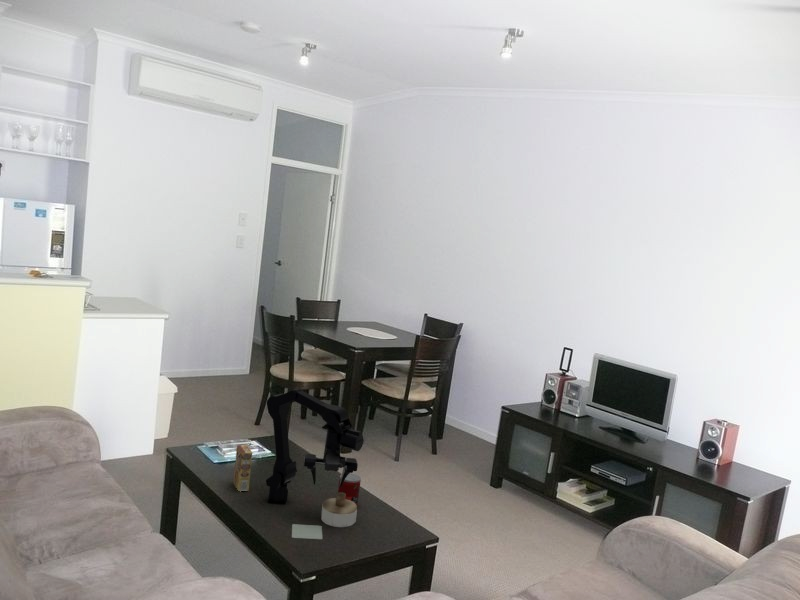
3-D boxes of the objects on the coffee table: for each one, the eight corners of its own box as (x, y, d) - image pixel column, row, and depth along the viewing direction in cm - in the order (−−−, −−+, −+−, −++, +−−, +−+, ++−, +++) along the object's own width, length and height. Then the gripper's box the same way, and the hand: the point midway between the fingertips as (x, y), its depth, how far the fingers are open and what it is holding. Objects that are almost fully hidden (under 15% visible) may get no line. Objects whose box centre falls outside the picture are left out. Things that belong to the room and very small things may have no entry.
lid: (323, 513, 233) (324, 499, 233) (322, 499, 245) (323, 486, 245) (357, 515, 235) (359, 501, 235) (355, 501, 247) (356, 488, 246)
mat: (291, 538, 222) (291, 537, 222) (292, 525, 232) (292, 524, 232) (322, 540, 224) (322, 539, 224) (321, 527, 234) (321, 525, 234)
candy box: (248, 491, 256) (253, 452, 254) (237, 492, 254) (242, 452, 252) (243, 483, 264) (247, 444, 262) (232, 483, 262) (236, 445, 260)
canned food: (354, 511, 250) (357, 482, 249) (333, 506, 252) (337, 478, 251) (359, 503, 258) (363, 475, 257) (339, 499, 259) (342, 471, 258)
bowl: (321, 527, 234) (323, 513, 233) (320, 512, 246) (322, 499, 245) (356, 529, 236) (357, 515, 235) (353, 514, 247) (355, 501, 247)
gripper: (307, 448, 230) (300, 492, 232) (361, 453, 233) (355, 497, 235) (306, 437, 241) (301, 479, 243) (359, 443, 244) (352, 484, 246)
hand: (327, 485), depth 241 cm, fingers open, 9 cm apart
